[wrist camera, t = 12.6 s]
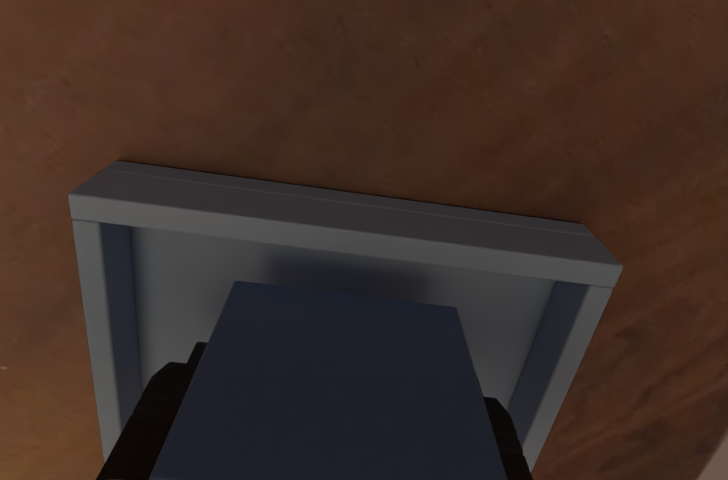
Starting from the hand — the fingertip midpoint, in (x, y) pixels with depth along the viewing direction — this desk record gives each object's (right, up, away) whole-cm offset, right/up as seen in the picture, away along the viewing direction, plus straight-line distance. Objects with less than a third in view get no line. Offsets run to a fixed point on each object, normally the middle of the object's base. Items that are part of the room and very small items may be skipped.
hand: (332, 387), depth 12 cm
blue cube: (0, 0, 0) cm, 0 cm away
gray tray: (0, -1, +4) cm, 5 cm away
